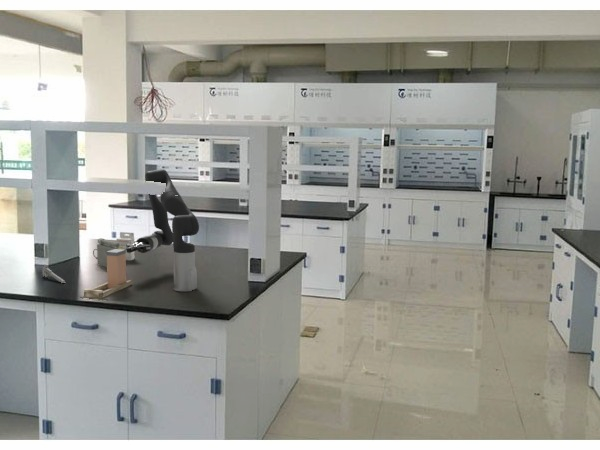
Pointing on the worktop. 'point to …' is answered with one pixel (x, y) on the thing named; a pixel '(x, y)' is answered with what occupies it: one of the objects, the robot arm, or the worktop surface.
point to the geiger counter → (104, 250)
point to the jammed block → (116, 267)
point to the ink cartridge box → (123, 241)
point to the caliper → (51, 274)
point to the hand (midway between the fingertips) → (128, 250)
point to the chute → (99, 292)
